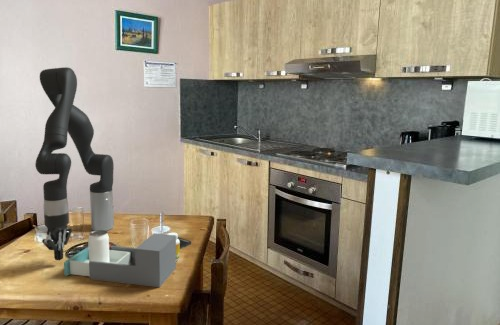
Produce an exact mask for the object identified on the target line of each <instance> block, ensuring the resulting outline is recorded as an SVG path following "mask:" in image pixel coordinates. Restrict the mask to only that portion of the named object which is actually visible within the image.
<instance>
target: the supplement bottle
mask: <svg viewBox="0 0 500 325" xmlns="http://www.w3.org/2000/svg"><path fill="white" fill-rule="evenodd" d="M166 234H167V235H176V262H177V261H179V260H180V258H181V257H180V255H181V254H180V251H181V249H180V241H179V239H177V238H178V237H179V234H178V233H177V232H169V233H166Z"/></svg>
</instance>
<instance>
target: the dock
mask: <svg viewBox="0 0 500 325" xmlns="http://www.w3.org/2000/svg"><path fill="white" fill-rule="evenodd" d="M166 234H167V233H166ZM166 234H163V233H153V234H151V235H150V236H149V237H148V238H146V239H145V240H144V241H143V242H142V243H141V244H139V245H138V246H137V247H130V246H123V245H122V246H121V245H111V246H110V250H116V251H126V252H131V265H126V264H117V263H107V262H98V261H89V273H90V276H89V280H95V281H103V282H104V281H105V282H112V283H121V284H129V285H137V286H138V285H139V286H145V287H146V286H147V287H153V288H161V286H162V285H163V284H164V283H165V282H166V281H167V279H168V278H169V277H170V276H171V274H173V272H174V271H175V270H176V269H177V261H176V235H166Z"/></svg>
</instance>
